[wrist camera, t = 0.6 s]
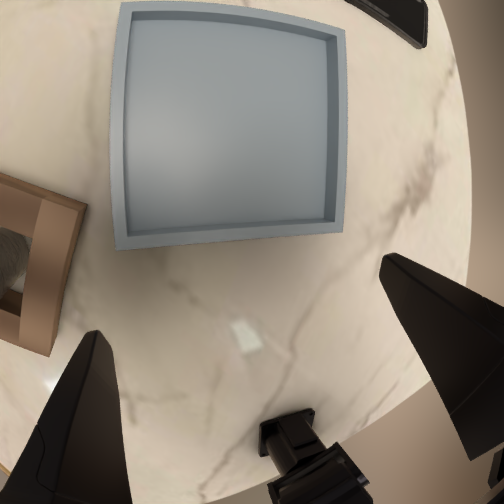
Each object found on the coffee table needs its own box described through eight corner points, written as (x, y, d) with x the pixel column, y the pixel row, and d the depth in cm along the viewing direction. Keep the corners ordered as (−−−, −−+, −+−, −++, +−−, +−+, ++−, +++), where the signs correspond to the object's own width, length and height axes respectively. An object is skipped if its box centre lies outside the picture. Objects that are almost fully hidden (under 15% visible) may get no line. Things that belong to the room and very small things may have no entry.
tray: (325, 225, 25) (342, 232, 23) (118, 240, 20) (115, 251, 18) (327, 38, 20) (344, 29, 18) (122, 17, 15) (121, 2, 13)
